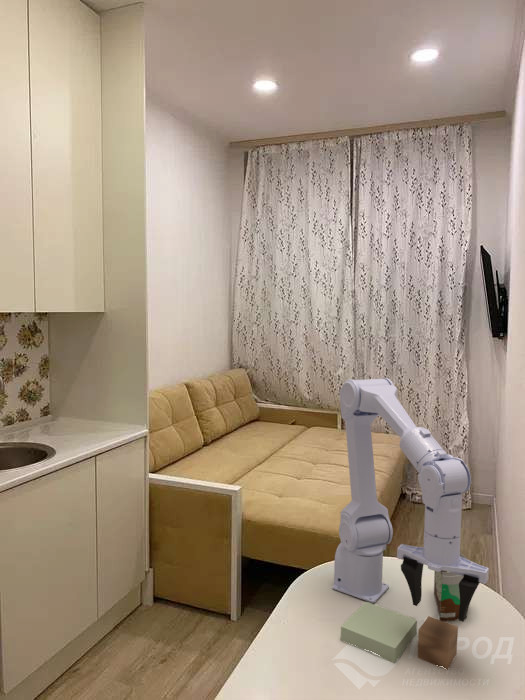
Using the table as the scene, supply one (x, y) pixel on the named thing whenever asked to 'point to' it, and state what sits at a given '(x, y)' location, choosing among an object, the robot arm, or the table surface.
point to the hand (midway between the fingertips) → (439, 610)
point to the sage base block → (379, 631)
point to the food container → (447, 594)
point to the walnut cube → (437, 642)
